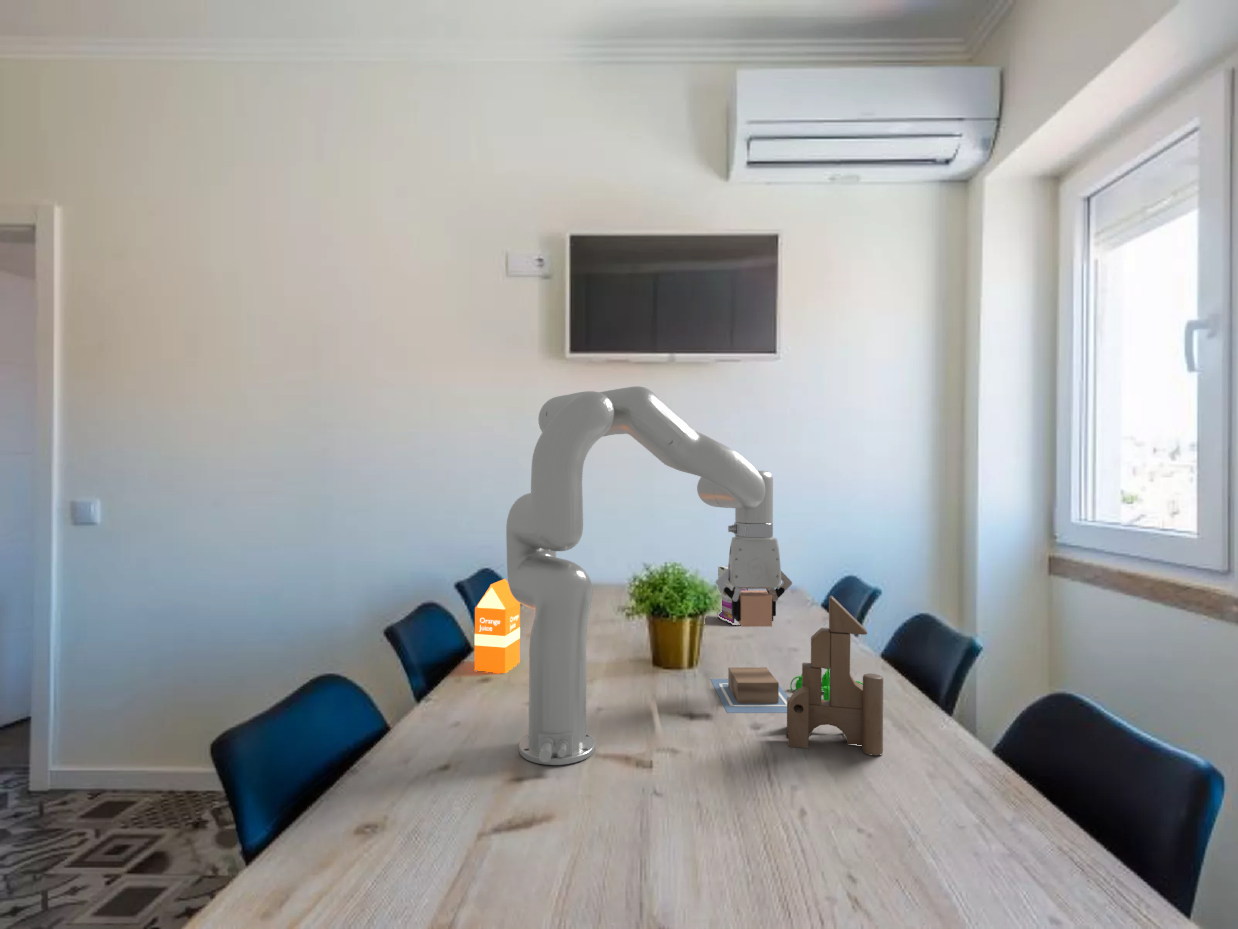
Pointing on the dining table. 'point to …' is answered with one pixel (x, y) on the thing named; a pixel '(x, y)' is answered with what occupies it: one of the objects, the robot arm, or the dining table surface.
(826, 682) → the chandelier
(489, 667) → the orange juice
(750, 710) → the blueprint board
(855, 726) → the wooden toy
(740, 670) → the walnut base
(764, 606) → the terracotta cube
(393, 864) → the dining table surface
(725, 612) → the candy bar box
